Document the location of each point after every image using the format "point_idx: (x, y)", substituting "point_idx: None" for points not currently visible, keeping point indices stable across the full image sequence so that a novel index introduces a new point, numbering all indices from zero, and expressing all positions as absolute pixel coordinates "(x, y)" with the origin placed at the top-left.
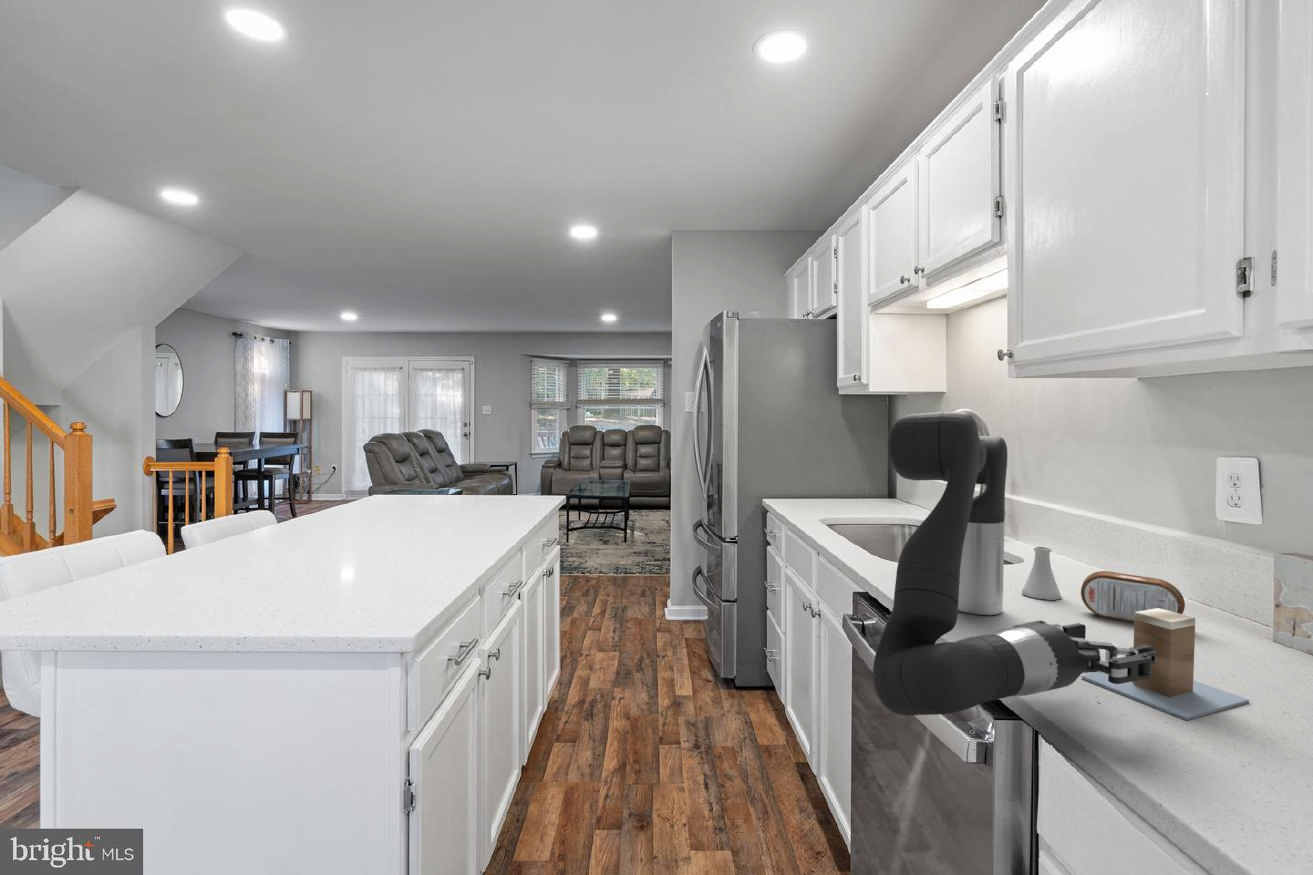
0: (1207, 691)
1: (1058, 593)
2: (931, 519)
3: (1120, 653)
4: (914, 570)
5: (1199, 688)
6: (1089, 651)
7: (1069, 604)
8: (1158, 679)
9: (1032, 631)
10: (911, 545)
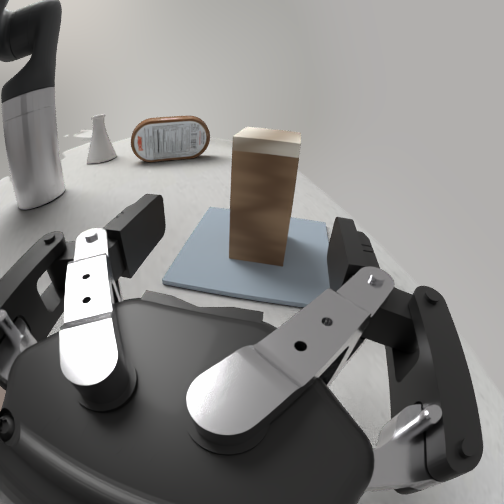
0: (294, 227)
1: (114, 152)
2: None
3: (369, 322)
4: None
5: None
6: (322, 447)
7: (123, 159)
8: (269, 245)
9: None
10: None
